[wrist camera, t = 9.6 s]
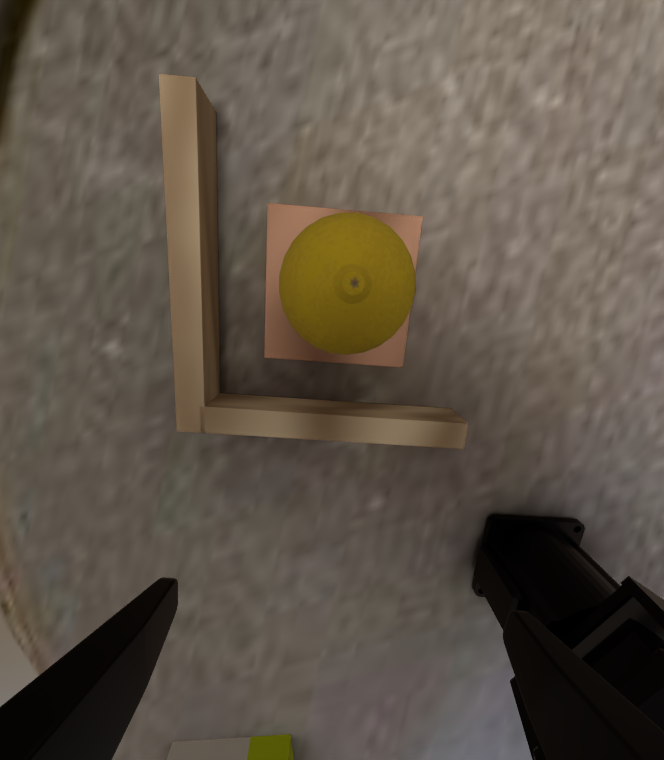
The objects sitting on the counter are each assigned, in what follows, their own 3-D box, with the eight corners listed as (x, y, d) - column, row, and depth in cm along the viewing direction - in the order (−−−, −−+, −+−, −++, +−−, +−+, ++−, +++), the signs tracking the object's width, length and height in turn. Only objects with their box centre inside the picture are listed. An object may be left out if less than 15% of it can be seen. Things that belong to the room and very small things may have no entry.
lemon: (383, 346, 18) (426, 382, 10) (286, 335, 18) (254, 362, 10) (400, 243, 17) (465, 193, 9) (295, 229, 16) (267, 164, 9)
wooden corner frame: (498, 139, 16) (529, 111, 14) (446, 430, 20) (463, 448, 17) (185, 109, 15) (159, 74, 13) (195, 414, 19) (176, 431, 17)
